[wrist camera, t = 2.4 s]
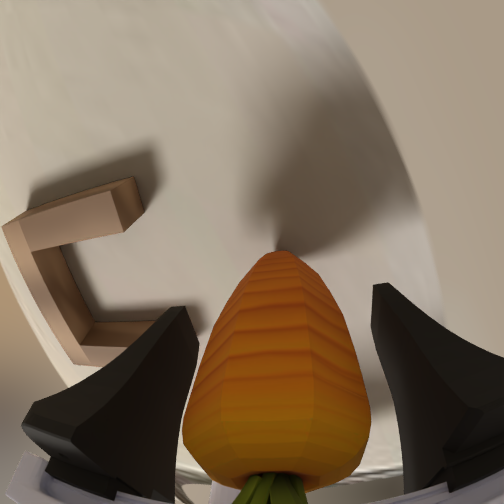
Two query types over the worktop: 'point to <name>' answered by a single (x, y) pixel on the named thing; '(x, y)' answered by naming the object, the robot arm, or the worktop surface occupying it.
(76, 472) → the robot arm
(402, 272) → the worktop surface
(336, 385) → the carrot
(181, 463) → the worktop surface
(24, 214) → the walnut bracket
